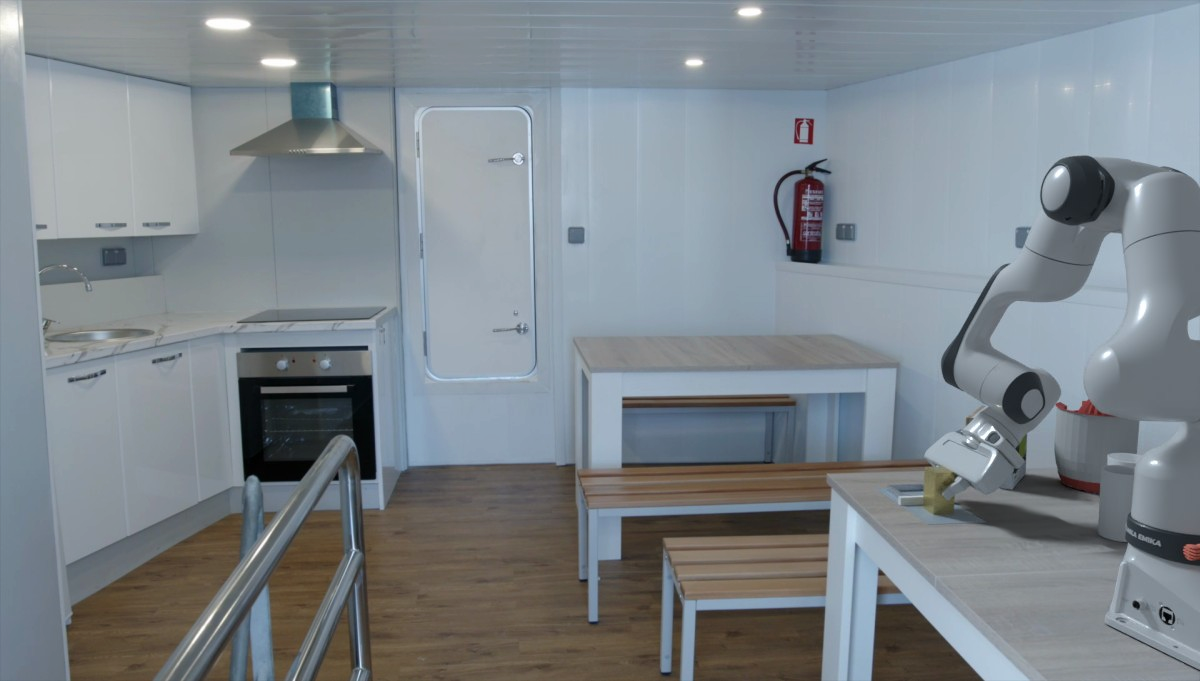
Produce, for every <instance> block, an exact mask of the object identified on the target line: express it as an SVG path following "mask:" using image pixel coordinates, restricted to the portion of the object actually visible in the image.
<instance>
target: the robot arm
mask: <svg viewBox="0 0 1200 681" xmlns="http://www.w3.org/2000/svg"><path fill="white" fill-rule="evenodd" d="M1039 199H1040V200H1039V201H1040V204H1041V208H1040V210H1039V212H1038V214H1037V216H1036V218H1035V219H1034V221H1033V223H1032V226H1031V227H1030V230H1029V232H1028V233H1027V237H1026V239H1025V242H1024V245H1023V246H1022V249H1021V251H1020V252H1019V254H1018V255H1017V257H1016V258H1015V259H1014V260H1013V261H1012V262H1010V263H1005V264H1002V265H1001V266H999V267H998V268H997V269H996V271H994V273H993V274H992V275H991V277H990V278H989V280H988V281H987V282H986V284H985V286H984V288H983V290H982V291H981V292H980V294H979V297H978V298H977V300H976V302H975V303H974V305H973V307H972V309H971V311H970V312H969V314H968V316H967V318H966V319H965V322H964V323H963V324H962V326H961V328H960V330H959V331H958V333H957V335H956V336H955V338H954V339H953V340H952V341H951V343H949V344H948V346H947V348H946V349H945V351H944V352H943V354H942V355H941V356H942V357H941V360H940V369H941V370H940V371H941V375H942V378H943V380H944V381H945V383H947V384H948V385H950V386H952V387H954V388H956V389H957V390H959V391H962V392H963V393H966V394H967V395H969V396H971V397H972V398H974V399H975V400H977V401H978V402H980V403H982V405H985V406H989V407H987V408H986V409H984V410H982V411H981V412H980V413H979V414H978V415H977V416H976V417H975V418H974V419H973V420H972V421H971V422H970V423H969V424H968V425H967V426H966V425H965V426H966V427H965V426H964V428H963V429H958V430H956V431H951V432H947V433H946V434H944V435H943V436H941V437H940V438H939V439H938V440H937V441H935V442H934V444H932V445H931V446H930V447H928V449H926V451H925V453H924V455H923V456H924V457H923V458H924V459H925V460H926V461H927V462H928V463H929V464H930V465H931V467H941V466H943V467H945V468H947V469H949V470H951V471H952V472H954V473H955V474H956V479H955V482H954V483H953V484H951V485H950V486H948V487H946V486H944V487H943V488H942V490H940V492H939V494H940V495H941V496H942V497H943V498H945V499H946V500H950V499H951V498H952V497H953V496H954V495H955V496H956V495H957V494H960V493H962V492H964V491H966V490H967V489H968V488H969V487H971V488H973V489H974V490H977V491H978V492H980V493H981V494H983V495H986V496H987V495H991V494H992V493H994V492H997V490H998V489H1000V488H999V487H1000V486H1001V485H1002V484H1003V483H1004V482H1005V481H1006V480H1007V479H1008V478H1009V477H1010V476H1011V475H1012V473H1013V471H1014V468H1015V469H1018V468H1020V467H1021V466H1022V465H1023V464H1024V462H1025V461H1024V459H1023V458H1022V457H1021V456H1020V454H1019V453H1018V452H1017V451H1016V449H1015V448H1016V447H1017V446H1018V445H1019V444H1020V442H1021V441H1022V439H1023V437H1024V436H1025V435H1026V434H1027V435H1028V433H1030V432H1031V431H1033V430H1035V429H1036V428H1037V427H1038V426H1039V425H1040V423H1042V421H1044V419H1045V418H1046V417H1047V416H1048V415H1049V414H1050V413H1051V411H1052V410H1053V408H1054V407H1056V403H1058V401H1059V399H1060V397H1061V396H1062V389H1061V387H1060V384H1059V382H1058V381H1057V380H1056V379H1055V377H1053V375H1051V374H1050V373H1049V372H1048V371H1047V370H1045V369H1043V368H1040V367H1037V366H1031V367H1029V366H1026V365H1025V364H1023V363H1022V362H1019V361H1018V360H1016V359H1015V358H1012V357H1010V356H1008V355H1007V354H1005V353H1004V352H1001V351H1000V350H998V349H996V348H994V346H993V345H992V342H991V337H992V335H993V334H994V332H995V331H996V329H997V327H998V326H999V323H1000V321H1001V320H1002V319H1003V317H1004V315H1005V313H1006V312H1007V309H1008V308H1009V307H1010V306H1011V305H1012V304H1013V303H1015V302H1027V303H1053V302H1054V303H1055V302H1059V301H1064V300H1066V299H1069V298H1071V297H1072V296H1074V295H1076V294H1077V293H1079V292H1080V291H1081V289H1082V288H1083V287H1084V285H1085V284H1086V282H1087V281H1088V278H1089V277H1090V274H1091V273H1092V269H1093V267H1094V264H1095V262H1096V260H1097V257H1098V254H1099V252H1100V248H1101V246H1102V244H1103V241H1104V239H1105V238H1106V237H1107V236H1108V235H1109V234H1111V233H1112V234H1121V243H1122V245H1121V246H1122V253H1123V254H1122V255H1123V261H1124V268H1125V276H1126V277H1125V278H1126V292H1127V293H1126V294H1127V302H1126V304H1127V305H1126V311H1125V313H1124V317H1123V319H1122V322H1121V324H1120V326H1119V328H1118V329H1117V330H1116V331H1115V333H1113V335H1112V336H1111V337H1110V338H1109V339H1108V340H1106V341H1105V342H1104V343H1103V344H1101V345H1100V346H1098V347H1097V348H1096V349H1095V350H1094V351H1093V352H1092V354H1091V355H1090V356H1089V358H1088V359H1087V361H1086V364H1085V366H1084V369H1083V370H1084V371H1083V376H1082V377H1083V378H1082V379H1083V387H1084V391H1085V394H1086V396H1087V397H1088V399H1089V400H1090V401H1091V403H1092V404H1093V405H1094V406H1095V408H1096V409H1097V410H1099V411H1100V412H1101V413H1104V414H1108V415H1113V416H1117V417H1121V418H1126V419H1131V420H1137V421H1139V422H1165V423H1166V422H1168V423H1173V422H1174V423H1181V424H1180V426H1179V427H1178V429H1177V431H1176V432H1175V433H1174V435H1173V436H1171V438H1169V439H1168V440H1167V441H1166V442H1164V443H1162V444H1160V445H1158V446H1155V447H1153V448H1151V449H1149V450H1148V451H1145V452H1144V453H1143V454H1142V456H1141V457H1140V459H1139V460H1138V462H1137V464H1136V466H1135V471H1134V484H1133V496H1132V508H1131V512H1130V513H1129V514H1128V516H1127V523H1126V524H1125V529H1126V533H1125V539H1126V540H1127V542H1126V543H1127V547H1126V551H1125V553H1124V555H1123V558H1122V560H1121V562H1120V565H1119V568H1118V573H1117V578H1116V582H1115V587H1114V592H1113V597H1112V600H1111V603H1110V606H1109V610H1108V611H1107V612H1106V614H1105V617H1104V623H1105V624H1106V625H1108V626H1110V627H1112V628H1114V629H1116V630H1118V631H1120V632H1122V633H1124V634H1126V635H1128V636H1130V637H1132V638H1134V639H1136V640H1138V641H1140V642H1142V643H1144V644H1146V645H1149V646H1150V647H1152V648H1154V649H1157V650H1158V651H1160V652H1162V653H1165V654H1167V655H1168V656H1171V657H1172V658H1174V659H1177V660H1178V661H1181V662H1183V663H1185V664H1187V665H1189V666H1191V667H1193V668H1195V669H1197V670H1199V671H1200V339H1199V340H1198V339H1191V338H1190V336H1189V330H1188V327H1189V322H1190V321H1191V320H1193V319H1196V318H1197V317H1199V316H1200V185H1199V184H1198V181H1196V180H1195V178H1193V177H1192V176H1190V175H1188V174H1186V173H1185V172H1183V171H1180V169H1179V170H1178V169H1175V168H1173V167H1169V166H1157V165H1153V164H1150V163H1144V162H1140V161H1134V160H1131V159H1128V158H1118V157H1117V158H1116V157H1095V156H1094V157H1092V156H1090V155H1087V154H1086V155H1084V154H1083V155H1072V156H1067V157H1063V158H1060V159H1059V160H1057V161H1056V162H1054V163H1053V165H1052V166H1051V167H1050V168H1049V169H1048V171H1047V172H1046V173H1045V175H1044V176H1043V179H1042V182H1041V186H1040V192H1039Z"/></svg>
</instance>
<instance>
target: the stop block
mask: <svg viewBox="0 0 1200 681" xmlns="http://www.w3.org/2000/svg"><path fill="white" fill-rule="evenodd" d="M923 476H924V477H923V484H924V494H923V508H924V509H925V510H927V511H928V512H930V513H931V514H933V515H939V514H954V503H955V500H954V498H955V496H956V494H955V495H954V496H953V497H952V498H951V499H950V500H946V499H945V498H943V497H942V496H941V495H940V494H939V492H940V490H942V488H943V487H944V486H946V487H948V486H950V485H951V484H953V483H954V482H956V481H955V479H956V474H955V473H954V472H952V471H951V470H949V469H947V468H945V467H943V466H941V467H933V466H925V467H924V475H923Z"/></svg>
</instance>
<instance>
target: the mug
mask: <svg viewBox="0 0 1200 681" xmlns="http://www.w3.org/2000/svg"><path fill="white" fill-rule="evenodd" d="M1134 471H1135V468H1134V467H1129V466H1121V465H1106V466H1102V467H1101V480H1100V492H1099V502H1098V504H1099V506H1098V523H1097V524H1098V525H1097V526H1098V528H1097V533H1098V535H1099V536H1101V537H1102V538H1104V539H1107V540H1110V541H1115V542H1121V543H1122V542H1123V543H1128V542H1127V540H1126V539H1125V533H1126V529H1125V524H1126V523H1127V516H1128V514H1129V513H1130V512H1131V508H1132V496H1133V484H1134Z"/></svg>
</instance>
